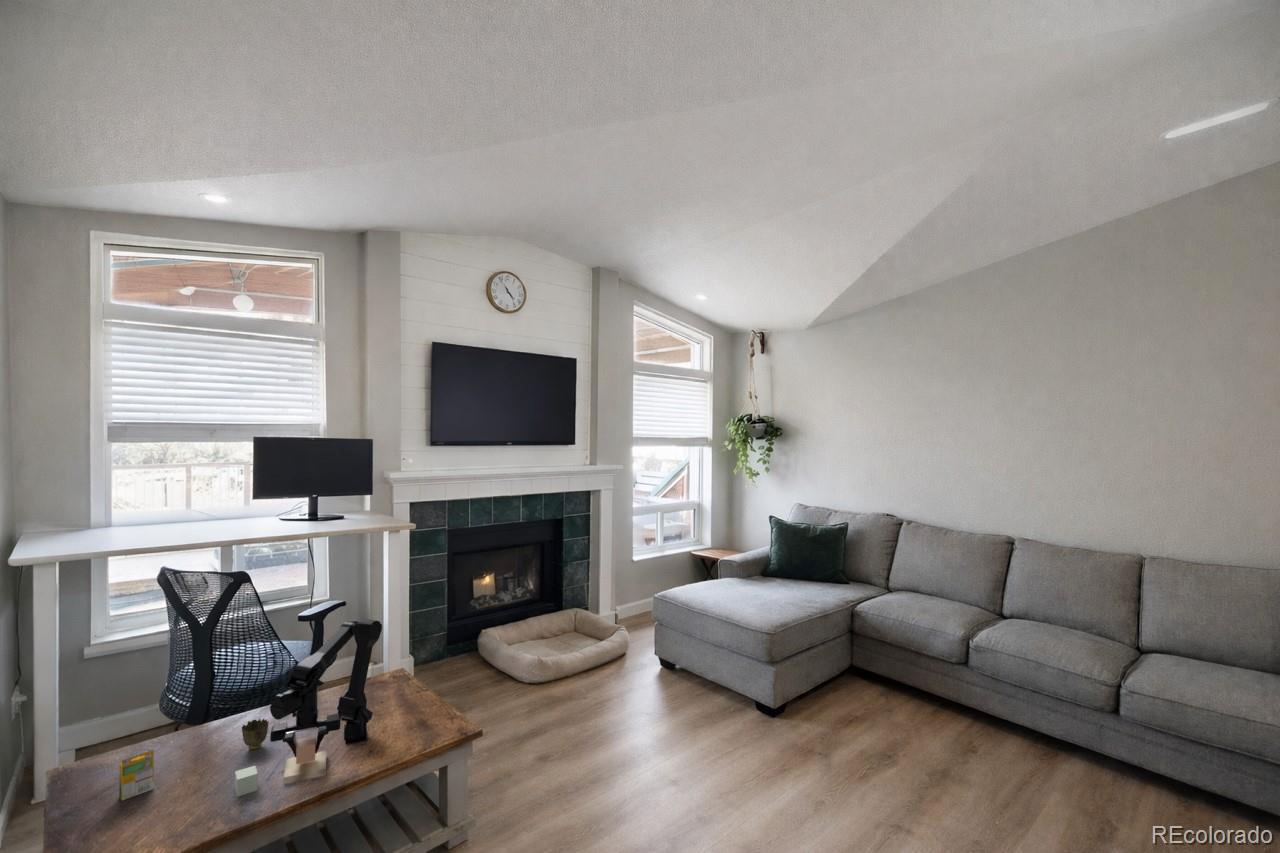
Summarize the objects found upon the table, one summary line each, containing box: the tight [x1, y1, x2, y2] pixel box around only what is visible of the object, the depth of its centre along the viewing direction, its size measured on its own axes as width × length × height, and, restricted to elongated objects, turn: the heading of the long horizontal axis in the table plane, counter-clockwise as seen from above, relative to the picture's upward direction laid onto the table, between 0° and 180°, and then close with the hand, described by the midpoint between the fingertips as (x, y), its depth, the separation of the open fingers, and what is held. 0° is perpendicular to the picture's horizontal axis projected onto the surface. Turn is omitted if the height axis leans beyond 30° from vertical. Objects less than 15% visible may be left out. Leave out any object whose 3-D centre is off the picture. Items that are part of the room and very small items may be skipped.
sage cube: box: [234, 765, 259, 797], centre depth 175 cm, size 5×5×5 cm
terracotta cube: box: [296, 735, 317, 764], centre depth 185 cm, size 5×5×5 cm
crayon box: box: [118, 749, 155, 802], centre depth 172 cm, size 7×3×12 cm, turn 141°
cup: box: [241, 718, 269, 751], centre depth 196 cm, size 8×7×8 cm
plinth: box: [283, 750, 328, 785], centre depth 185 cm, size 11×11×2 cm
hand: (306, 754), depth 185 cm, fingers closed on terracotta cube, 5 cm apart
